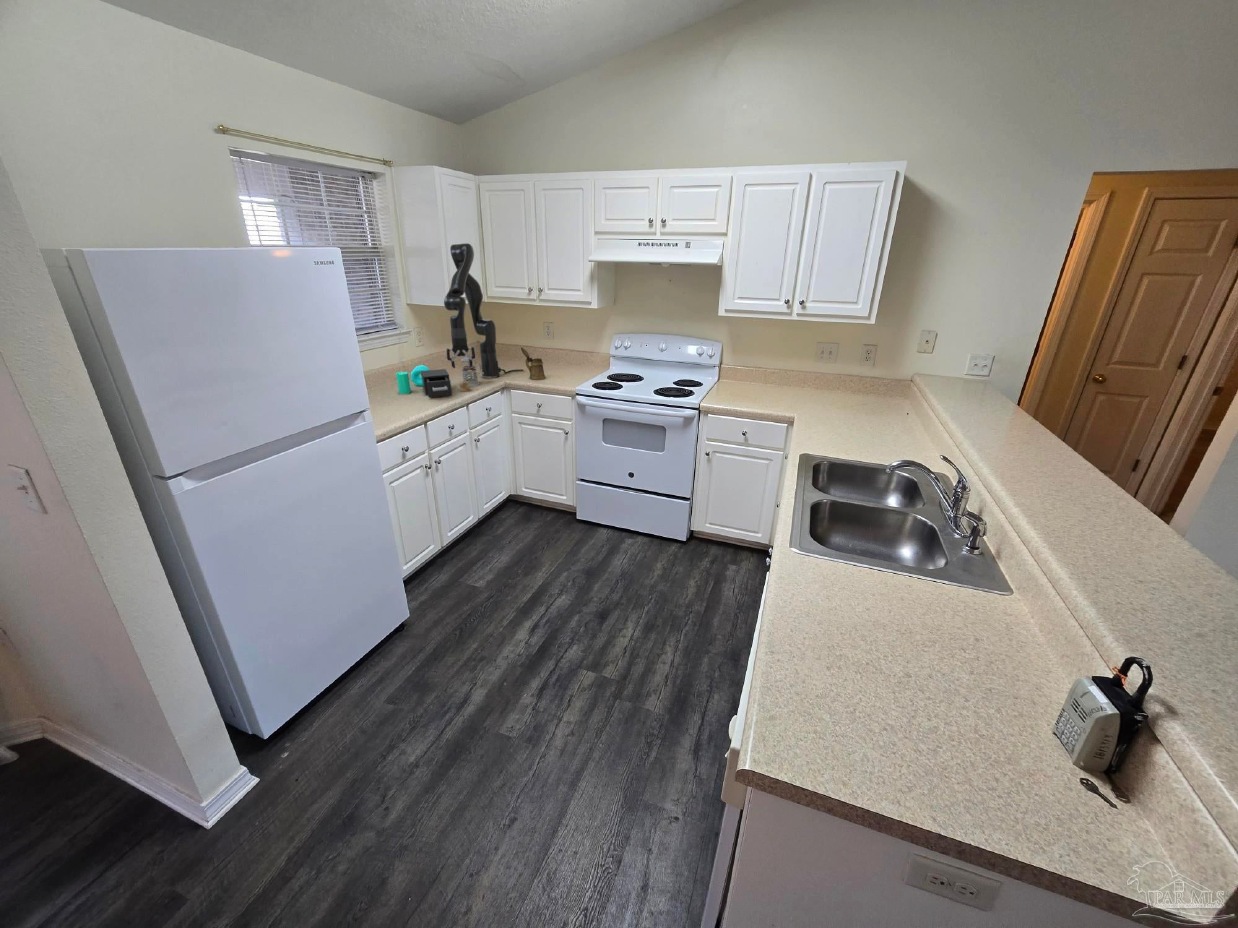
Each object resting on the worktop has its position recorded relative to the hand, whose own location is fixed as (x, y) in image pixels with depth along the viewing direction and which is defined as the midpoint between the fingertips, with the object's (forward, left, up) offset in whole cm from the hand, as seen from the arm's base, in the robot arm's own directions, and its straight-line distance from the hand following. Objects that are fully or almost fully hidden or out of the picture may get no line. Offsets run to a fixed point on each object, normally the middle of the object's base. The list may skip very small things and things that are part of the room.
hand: (462, 367), depth 272 cm
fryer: (+14, -5, -13) cm, 19 cm away
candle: (+30, -8, -13) cm, 34 cm away
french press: (-6, -13, -13) cm, 19 cm away
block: (0, 0, -13) cm, 13 cm away
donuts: (+20, -23, -13) cm, 33 cm away
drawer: (+14, +7, -12) cm, 19 cm away
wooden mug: (-42, -13, -13) cm, 46 cm away
